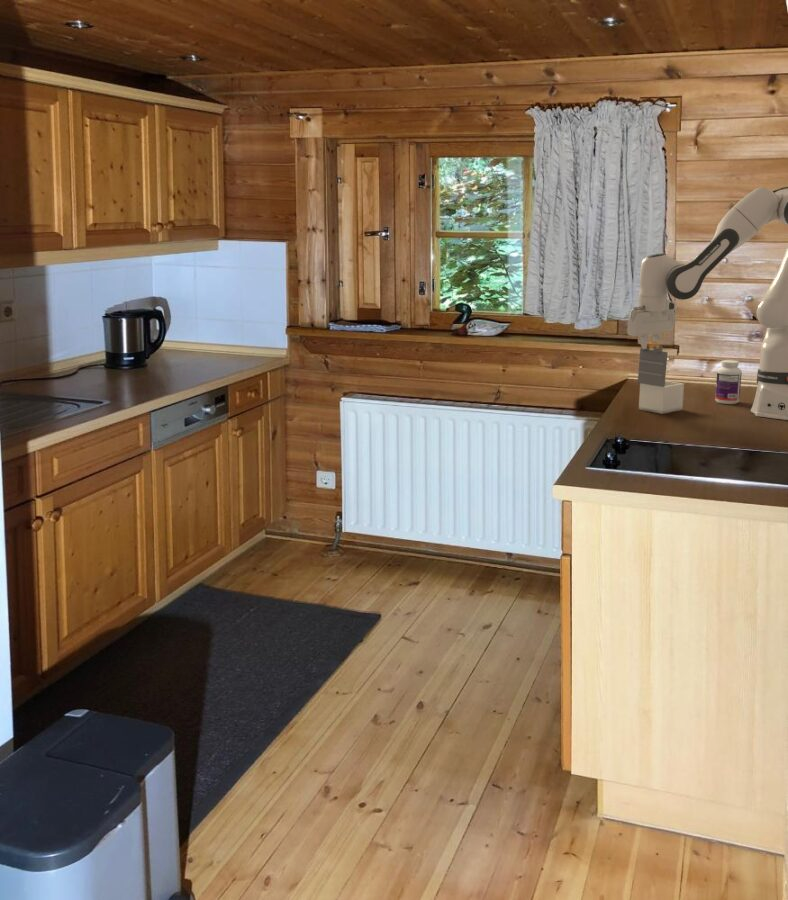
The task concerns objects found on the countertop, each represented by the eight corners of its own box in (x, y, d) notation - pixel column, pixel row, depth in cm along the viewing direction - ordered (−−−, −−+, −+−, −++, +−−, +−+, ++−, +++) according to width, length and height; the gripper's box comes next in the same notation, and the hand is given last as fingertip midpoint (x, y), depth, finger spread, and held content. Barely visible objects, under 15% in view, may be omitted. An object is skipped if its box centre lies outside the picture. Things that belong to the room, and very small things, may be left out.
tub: (682, 409, 352) (684, 383, 350) (662, 413, 345) (663, 387, 343) (658, 405, 359) (660, 379, 357) (638, 409, 352) (640, 383, 350)
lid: (664, 386, 342) (657, 387, 340) (639, 382, 350) (632, 383, 348) (668, 344, 340) (661, 344, 337) (642, 340, 347) (635, 341, 345)
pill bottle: (722, 399, 369) (725, 358, 366) (743, 402, 364) (746, 361, 361) (710, 402, 364) (713, 361, 361) (731, 405, 358) (735, 363, 355)
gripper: (639, 307, 330) (637, 351, 333) (679, 303, 343) (676, 346, 346) (623, 306, 335) (621, 349, 338) (663, 302, 347) (660, 344, 351)
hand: (649, 348), depth 342 cm, fingers open, 3 cm apart
